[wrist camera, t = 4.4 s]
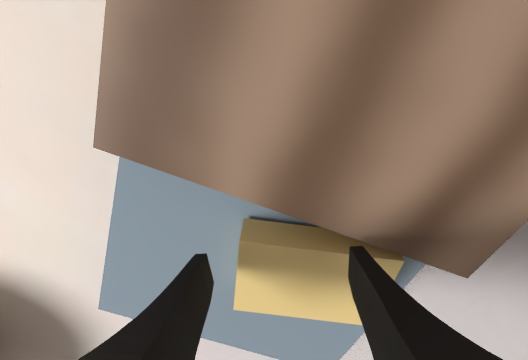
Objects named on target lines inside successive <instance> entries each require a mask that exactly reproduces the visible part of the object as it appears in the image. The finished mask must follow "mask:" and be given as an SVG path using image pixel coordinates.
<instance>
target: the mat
mask: <svg viewBox="0 0 528 360" xmlns="http://www.w3.org/2000/svg"><path fill="white" fill-rule="evenodd" d="M244 218H247V219H255V220H263V221H271V222H279V223H287V224H295V225H304V226H312V227H319V226H317V225H314V224H311V223H308V222H305V221H302V220H299V219H297V218H294V217H291V216H288V215H285V214H282V213H279V212H277V211H274V210H271V209H268V208H265V207H262V206H259V205H257V204H254V203H251V202H248V201H245V200H242V199H239V198H237V197H234V196H231V195H228V194H225V193H222V192H220V191H217V190H214V189H211V188H208V187H205V186H202V185H200V184H197V183H194V182H191V181H188V180H185V179H182V178H180V177H177V176H174V175H171V174H168V173H165V172H162V171H160V170H157V169H154V168H151V167H148V166H145V165H142V164H140V163H137V162H134V161H131V160H128V159H125V158H122V157H120V158H119V165H118V172H117V180H116V187H115V194H114V201H113V208H112V215H111V223H110V230H109V237H108V244H107V251H106V258H105V265H104V273H103V280H102V287H101V294H100V301H99V308H98V309H100V310H104V311H107V312H111V313H115V314H118V315H122V316H125V317H129V318H133V319H134V318H136V317H137V316H138V315H139V314H140V313H141V312H142V311H143V310H145V309H146V308H147V307H148V306H149V305H150V304H151V303H152V302H153V301H154V300H155V299H156V298H157V297H158V296H159V295H160V294H161V293H162V292H163V290H164V289H165V288H166V287H167V286H168V285H169V284H170V283H171V282H172V281H173V279H174V278H175V277H176V276H177V275H178V274H179V272H180V271H181V270H182V269H183V268H184V267H185V265H186V264H187V263H188V262H189V261H190V259H191V258H192V257H193V256H194V255H195V254H204V253H207V256H208V260H209V264H210V268H211V272H212V276H213V280H214V286H213V293H212V298H211V303H210V307H209V310H208V314H207V317H206V320H205V324H204V327H203V330H202V334H201V338H204V339H208V340H211V341H215V342H219V343H222V344H226V345H229V346H233V347H237V348H240V349H244V350H247V351H251V352H255V353H258V354H262V355H265V356H269V357H272V358H276V359H280V360H339V359H340V358H341V357H342V356H343V355H344V354H345V353H346V352H347V350H348V349H349V348H350V347H351V346H352V345H353V344H354V343H355V342H356V340H357V339H358V338H359V337H360V336H361V335H362V334H363V333H364V328H363V325H355V324H347V323H339V322H330V321H322V320H314V319H305V318H297V317H288V316H280V315H272V314H263V313H255V312H247V311H238V310H233V308H234V297H235V285H236V274H237V262H238V251H239V240H240V235H241V230H242V225H243V220H244ZM320 228H322V227H320ZM401 256H402V255H401ZM402 258H403V260H404V263H403V265H402V267H401V269H400V271H399V273H398V274H397V276H396V278H395V280H394V281H395V282H396V283H397V284H398V285H399V286H400V287H401V288H402V289H403V288H404V287H405V286H406V285H407V284H408V282H409V281H410V280H411V279H412V278H413V277H414V276H415V275H416V273H417V272H418V271H419V270H420V269H421V268H422V267H423V266H424V265H425V263H422V262H419V261H416V260H414V259H411V258H408V257H405V256H402Z"/></svg>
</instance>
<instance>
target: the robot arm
mask: <svg viewBox="0 0 528 360" xmlns="http://www.w3.org/2000/svg"><path fill="white" fill-rule="evenodd" d="M348 279H349V284H350V288H351V292H352V297H353V300H354V303H355V305H356V308H357V311H358V314H359V317H360V320H361V322H362V325H363V328H364V331H365V334H366V336H367V339H368V342H369V345H370V348H371V351H372V355H373V358H374V360H503V359H501V358H499V357H497V356H496V355H494V354H492V353H490V352H488V351H487V350H485V349H483V348H482V347H480V346H478V345H477V344H475V343H474V342H472V341H470V340H469V339H467V338H466V337H464V336H463V335H461V334H460V333H458V332H457V331H455V330H454V329H452V328H451V327H449V326H448V325H447V324H445V323H444V322H442V321H441V320H440V319H438V318H437V317H435V316H434V315H433V314H432V313H430V312H429V311H428V310H426V309H425V308H424V307H423V306H422V305H420V304H419V303H418V302H417V301H416V300H414V299H413V298H412V297H411V296H410V295H409V294H408V293H407V292H406V291H405V290H403V289H402V288H401V287H400V286H399V285H398V284H397V283H396V282H395V281H394V280H393V279H392V278H391V277H390V276H389V275H388V274H387V273H386V272H385V271H384V270H383V268H382V267H381V266H380V265H379V264H378V263H377V262H376V261H375V260H374V258H373V257H372V256H371V255H370V254H369V253H368V251H367V250H366V249H365V248H364V247H363V246H350V247H349V267H348ZM213 286H214V280H213V276H212V272H211V268H210V264H209V260H208V256H207V253H204V254H195V255H194V256H193V257H192V258H191V259H190V261H189V262H188V263H187V264H186V265H185V267H184V268H183V269H182V270H181V271H180V272H179V274H178V275H177V276H176V277H175V278H174V279H173V281H172V282H171V283H170V284H169V285H168V286H167V287H166V288H165V289H164V290H163V292H162V293H161V294H160V295H159V296H158V297H157V298H156V299H155V300H154V301H153V302H152V303H151V304H150V305H149V306H148V307H147V308H146V309H145V310H143V311H142V312H141V313H140V314H139V315H138V316H137V317H136V318H134V319H133V320H132V321H131V322H129V323H128V324H127V325H126V326H125V327H123V328H122V329H121V330H120V331H118V332H117V333H116V334H114V335H113V336H112V337H110V338H109V339H108V340H106V341H105V342H104V343H102V344H101V345H99V346H98V347H96V348H95V349H93V350H92V351H91V352H89V353H88V354H86V355H84V356H83V357H81V358H80V359H78V360H195V355H196V351H197V347H198V344H199V341H200V337H201V334H202V330H203V327H204V324H205V320H206V317H207V314H208V310H209V307H210V303H211V298H212V293H213Z"/></svg>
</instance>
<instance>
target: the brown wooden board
mask: <svg viewBox="0 0 528 360" xmlns="http://www.w3.org/2000/svg"><path fill="white" fill-rule="evenodd" d="M93 147H94V148H97V149H100V150H102V151H105V152H108V153H111V154H114V155H117V156H120V157H122V158H125V159H128V160H131V161H134V162H137V163H140V164H142V165H145V166H148V167H151V168H154V169H157V170H160V171H162V172H165V173H168V174H171V175H174V176H177V177H180V178H182V179H185V180H188V181H191V182H194V183H197V184H200V185H202V186H205V187H208V188H211V189H214V190H217V191H220V192H222V193H225V194H228V195H231V196H234V197H237V198H239V199H242V200H245V201H248V202H251V203H254V204H257V205H259V206H262V207H265V208H268V209H271V210H274V211H277V212H279V213H282V214H285V215H288V216H291V217H294V218H297V219H299V220H302V221H305V222H308V223H311V224H314V225H317V226H319V227H322V228H325V229H328V230H331V231H334V232H337V233H339V234H342V235H345V236H348V237H351V238H354V239H357V240H359V241H362V242H365V243H368V244H371V245H374V246H377V247H379V248H382V249H385V250H388V251H391V252H394V253H397V254H399V255H402V256H405V257H408V258H411V259H414V260H416V261H419V262H422V263H425V264H428V265H431V266H434V267H436V268H439V269H442V270H445V271H448V272H451V273H454V274H456V275H459V276H462V277H465V278H468V277H469V276H470V275H471V274H472V273H473V272H474V271H475V270H477V269H478V268H479V267H480V266H481V265H482V264H483V263H484V262H485V261H486V260H487V259H488V258H489V257H490V256H491V255H492V254H493V253H494V252H495V251H496V250H497V249H498V248H499V247H500V246H501V245H502V244H503V243H504V242H505V241H506V240H507V239H509V238H510V237H511V236H512V235H513V234H514V233H515V232H516V231H517V230H518V229H519V228H520V227H521V226H522V225H523V224H524V223H525V222H526V221H527V220H528V0H106V8H105V19H104V31H103V42H102V53H101V65H100V76H99V87H98V99H97V110H96V121H95V133H94V144H93Z"/></svg>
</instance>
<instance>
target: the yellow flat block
mask: <svg viewBox="0 0 528 360" xmlns="http://www.w3.org/2000/svg"><path fill="white" fill-rule="evenodd" d="M350 246H363V247H364V248H365V249H366V250H367V251H368V253H369V254H370V255H371V256H372V257H373V258H374V260H375V261H376V262H377V263H378V264H379V265H380V266H381V267H382V268H383V270H384V271H385V272H386V273H387V274H388V275H389V276H390V277H391V278H392V279H393V280H395V278H396V276H397V274H398V273H399V271H400V269H401V267H402V265H403V263H404V260H403V258H402V256H401V255H399V254H397V253H394V252H391V251H388V250H385V249H382V248H379V247H377V246H374V245H371V244H368V243H365V242H362V241H359V240H357V239H354V238H351V237H348V236H345V235H342V234H339V233H337V232H334V231H331V230H328V229H325V228H320V227H312V226H304V225H295V224H287V223H279V222H271V221H263V220H255V219H247V218H244V220H243V225H242V230H241V235H240V240H239V251H238V262H237V274H236V285H235V297H234V308H233V310H238V311H247V312H255V313H263V314H272V315H280V316H288V317H297V318H305V319H314V320H322V321H330V322H339V323H347V324H355V325H362V322H361V320H360V317H359V314H358V311H357V308H356V305H355V303H354V300H353V297H352V292H351V288H350V284H349V279H348V267H349V247H350Z"/></svg>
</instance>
